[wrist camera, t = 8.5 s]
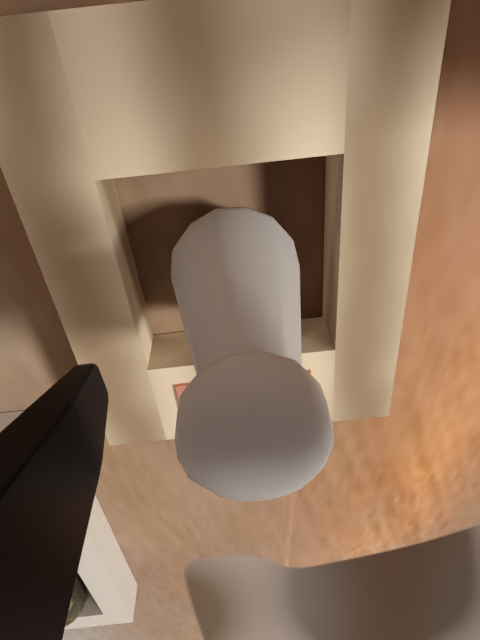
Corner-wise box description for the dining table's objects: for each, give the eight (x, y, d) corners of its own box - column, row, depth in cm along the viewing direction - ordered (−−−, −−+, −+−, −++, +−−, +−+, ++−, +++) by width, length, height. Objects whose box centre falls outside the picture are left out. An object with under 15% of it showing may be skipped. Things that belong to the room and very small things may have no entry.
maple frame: (417, -25, 16) (459, -34, 13) (372, 380, 27) (389, 418, 25) (-16, 22, 16) (-60, 22, 13) (118, 407, 27) (109, 448, 25)
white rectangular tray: (54, 407, 27) (38, 446, 24) (137, 585, 40) (132, 622, 37) (-142, 428, 27) (-177, 469, 24) (5, 599, 40) (-8, 637, 38)
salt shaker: (182, 301, 23) (158, 540, 12) (165, 196, 20) (113, 396, 9) (291, 292, 23) (360, 522, 13) (291, 186, 20) (386, 372, 9)
